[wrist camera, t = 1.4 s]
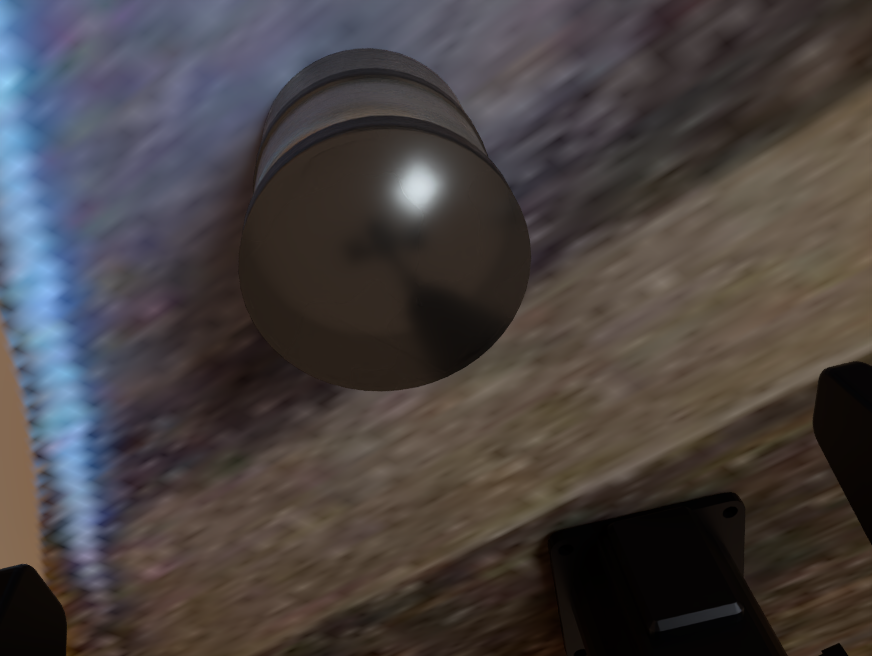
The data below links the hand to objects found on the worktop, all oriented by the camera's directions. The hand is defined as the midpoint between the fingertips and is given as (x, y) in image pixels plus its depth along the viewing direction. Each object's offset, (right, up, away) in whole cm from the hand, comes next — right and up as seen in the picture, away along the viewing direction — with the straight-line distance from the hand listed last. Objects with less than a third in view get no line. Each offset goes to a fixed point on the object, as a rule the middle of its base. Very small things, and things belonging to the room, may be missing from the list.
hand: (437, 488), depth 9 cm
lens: (-2, +6, +11) cm, 12 cm away
